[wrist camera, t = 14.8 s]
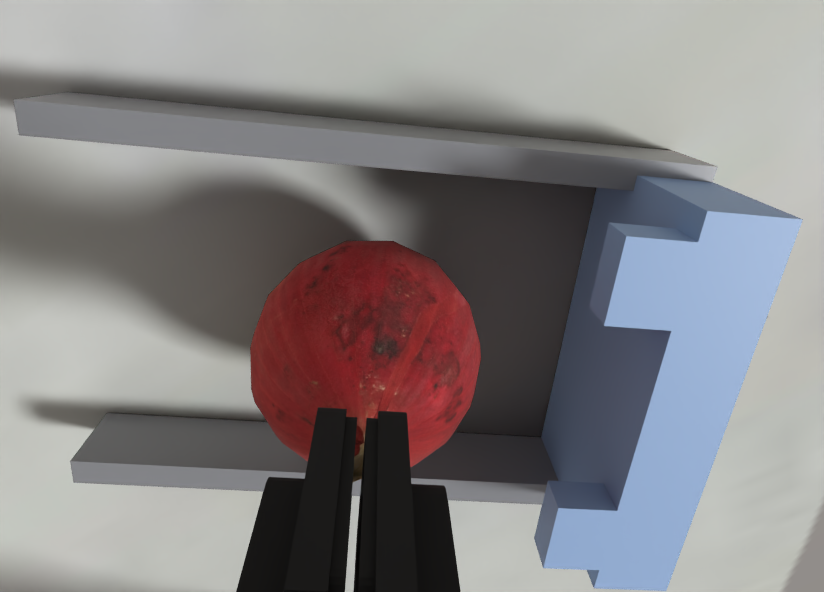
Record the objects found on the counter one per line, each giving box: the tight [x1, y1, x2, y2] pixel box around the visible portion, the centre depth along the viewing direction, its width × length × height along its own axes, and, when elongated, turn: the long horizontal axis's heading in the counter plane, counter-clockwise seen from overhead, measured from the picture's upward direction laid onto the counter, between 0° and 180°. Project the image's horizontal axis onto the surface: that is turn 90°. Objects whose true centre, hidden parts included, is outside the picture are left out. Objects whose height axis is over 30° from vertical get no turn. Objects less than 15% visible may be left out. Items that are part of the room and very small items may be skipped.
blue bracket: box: [534, 175, 803, 591], centre depth 16 cm, size 10×4×6 cm, turn 174°
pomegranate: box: [250, 241, 481, 482], centre depth 15 cm, size 6×6×8 cm
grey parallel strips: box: [14, 92, 717, 504], centre depth 15 cm, size 21×17×2 cm
